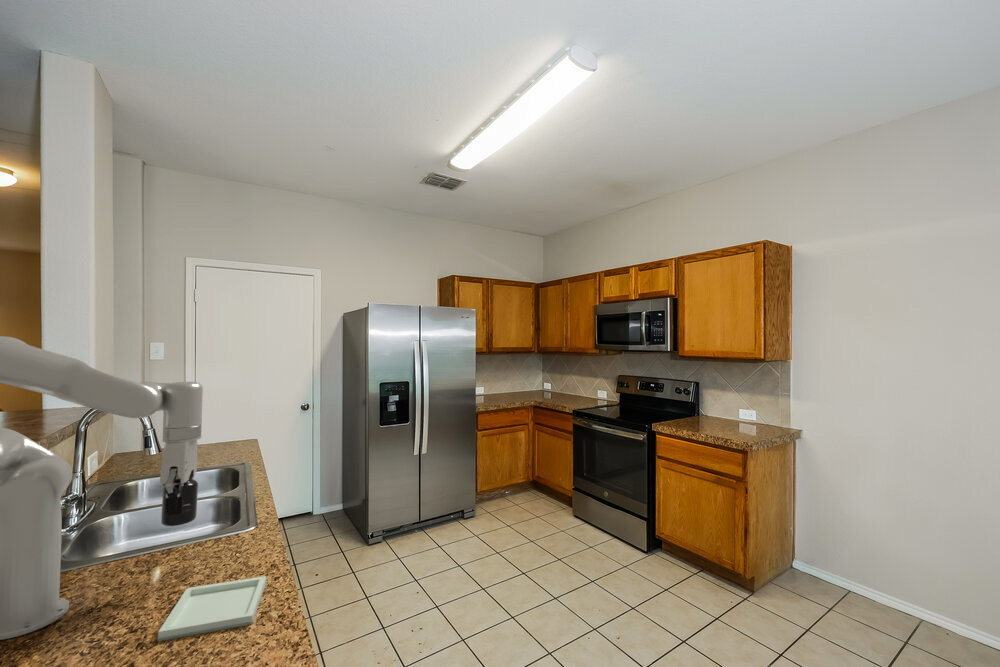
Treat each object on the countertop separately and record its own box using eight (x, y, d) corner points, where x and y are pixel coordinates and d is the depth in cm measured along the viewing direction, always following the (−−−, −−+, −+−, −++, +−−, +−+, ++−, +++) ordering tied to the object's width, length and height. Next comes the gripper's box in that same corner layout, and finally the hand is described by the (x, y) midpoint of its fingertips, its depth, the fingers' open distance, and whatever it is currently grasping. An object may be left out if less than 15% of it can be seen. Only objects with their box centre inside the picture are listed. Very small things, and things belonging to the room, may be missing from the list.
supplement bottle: (178, 528, 100) (179, 475, 100) (153, 525, 101) (155, 473, 101) (203, 516, 106) (205, 467, 107) (180, 514, 108) (182, 465, 108)
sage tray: (157, 641, 83) (158, 632, 83) (186, 596, 98) (187, 588, 98) (252, 624, 88) (252, 615, 89) (266, 583, 104) (266, 576, 104)
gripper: (176, 427, 111) (174, 498, 111) (148, 441, 95) (145, 524, 94) (210, 426, 114) (208, 494, 113) (188, 439, 97) (186, 520, 97)
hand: (179, 507), depth 104 cm, fingers closed on supplement bottle, 6 cm apart
